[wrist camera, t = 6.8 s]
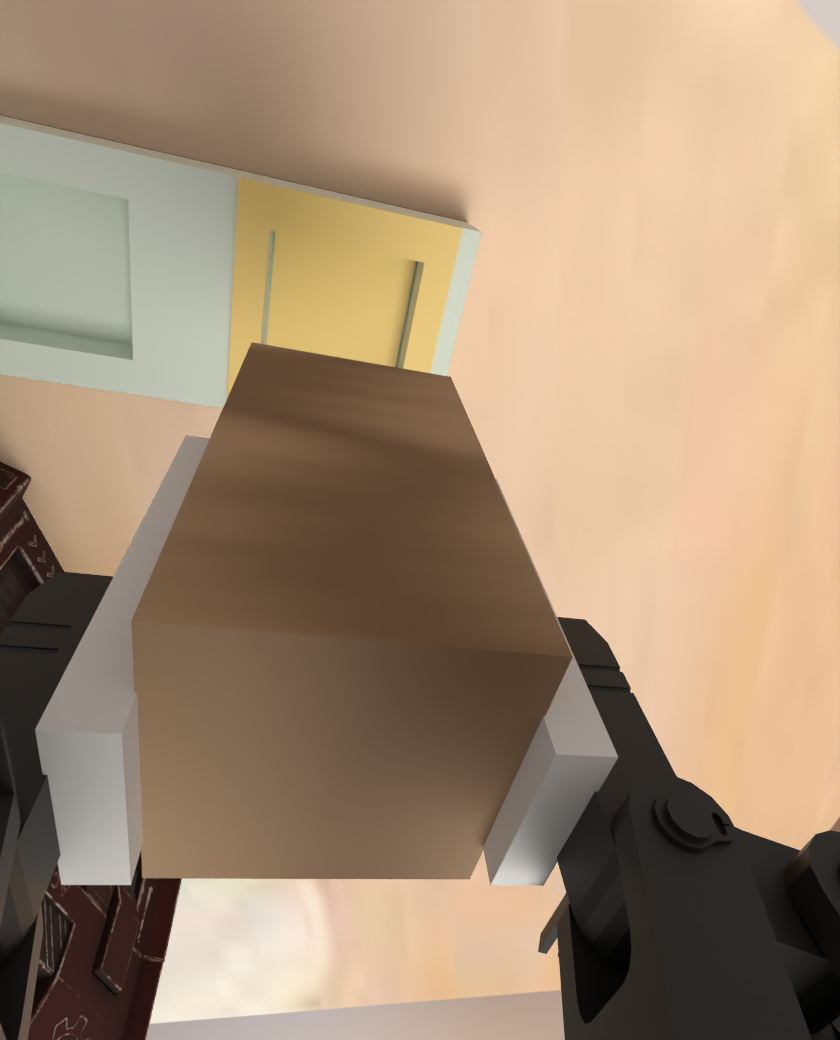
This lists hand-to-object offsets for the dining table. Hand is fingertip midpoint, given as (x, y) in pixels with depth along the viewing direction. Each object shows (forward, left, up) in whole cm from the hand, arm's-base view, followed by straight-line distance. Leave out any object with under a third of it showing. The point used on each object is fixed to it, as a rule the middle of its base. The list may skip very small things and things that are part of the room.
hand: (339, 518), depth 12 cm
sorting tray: (-11, 0, -18) cm, 21 cm away
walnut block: (0, 0, -3) cm, 3 cm away
